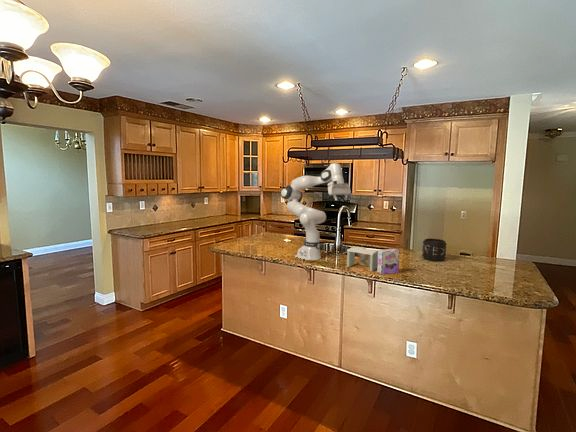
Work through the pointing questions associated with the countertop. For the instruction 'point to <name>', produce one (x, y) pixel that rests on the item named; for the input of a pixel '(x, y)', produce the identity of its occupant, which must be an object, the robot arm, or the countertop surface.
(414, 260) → the countertop surface
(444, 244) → the lettered black canister
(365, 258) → the birch block
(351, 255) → the tunnel
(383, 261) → the candy box
